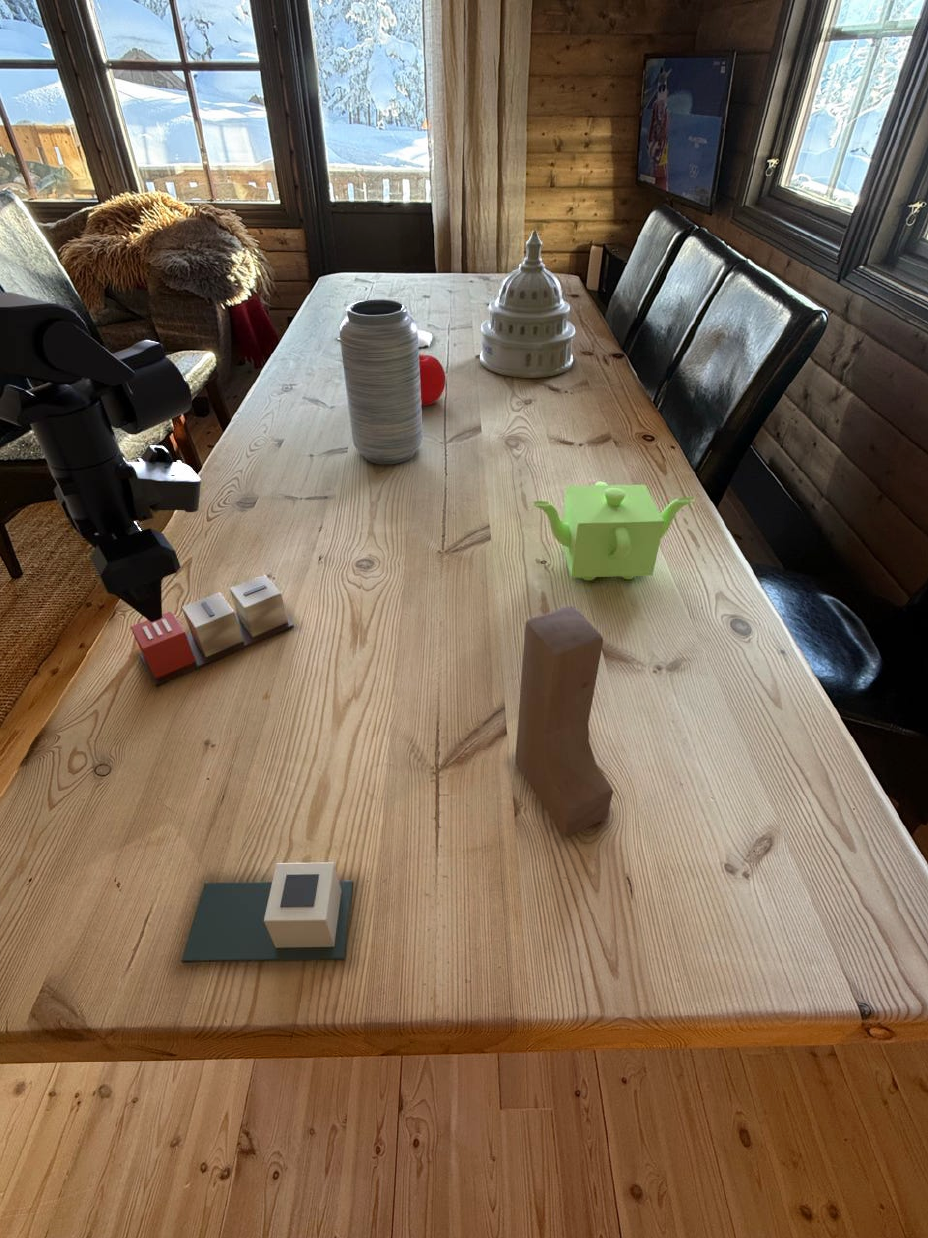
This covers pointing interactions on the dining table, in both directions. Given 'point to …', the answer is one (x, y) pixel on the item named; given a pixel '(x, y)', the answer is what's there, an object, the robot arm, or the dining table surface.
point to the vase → (382, 380)
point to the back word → (230, 624)
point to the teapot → (610, 529)
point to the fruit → (431, 379)
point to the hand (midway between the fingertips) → (142, 596)
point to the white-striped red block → (163, 644)
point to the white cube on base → (273, 918)
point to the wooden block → (561, 719)
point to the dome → (528, 322)
